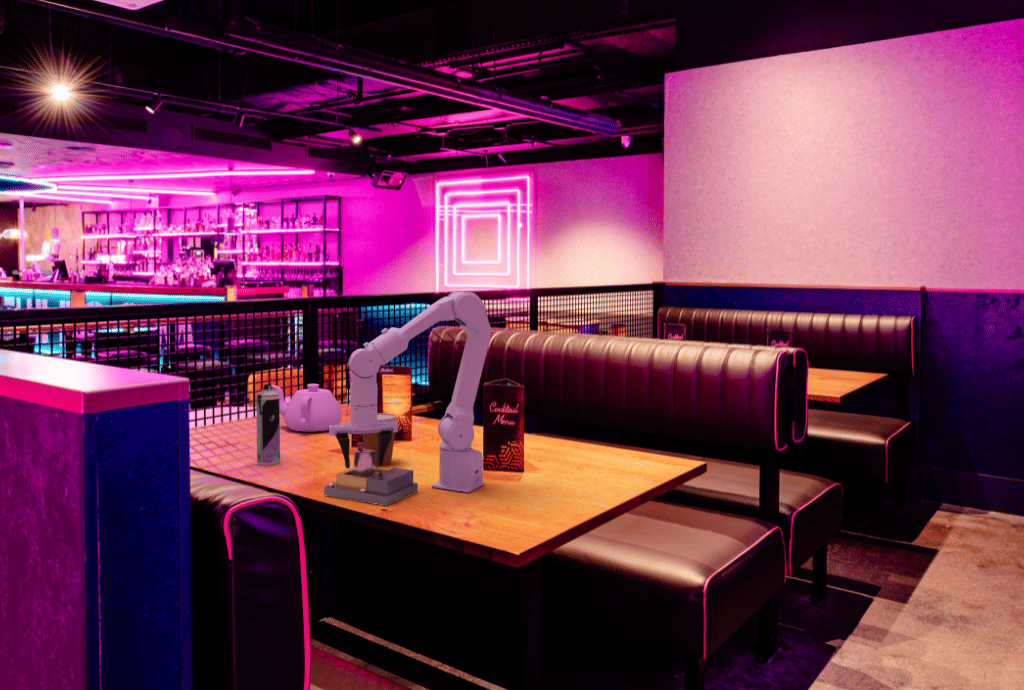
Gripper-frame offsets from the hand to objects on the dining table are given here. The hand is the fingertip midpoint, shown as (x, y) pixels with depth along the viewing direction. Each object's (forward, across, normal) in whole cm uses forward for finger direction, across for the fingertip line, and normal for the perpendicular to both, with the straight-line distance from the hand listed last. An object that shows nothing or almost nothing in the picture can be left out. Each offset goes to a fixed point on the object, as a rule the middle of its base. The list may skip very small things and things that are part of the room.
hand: (363, 466), depth 166 cm
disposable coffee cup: (+6, -8, -25) cm, 27 cm away
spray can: (+6, +18, -32) cm, 38 cm away
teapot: (+6, +6, -74) cm, 74 cm away
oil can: (+4, 0, 0) cm, 4 cm away
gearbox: (+6, -1, +1) cm, 6 cm away
